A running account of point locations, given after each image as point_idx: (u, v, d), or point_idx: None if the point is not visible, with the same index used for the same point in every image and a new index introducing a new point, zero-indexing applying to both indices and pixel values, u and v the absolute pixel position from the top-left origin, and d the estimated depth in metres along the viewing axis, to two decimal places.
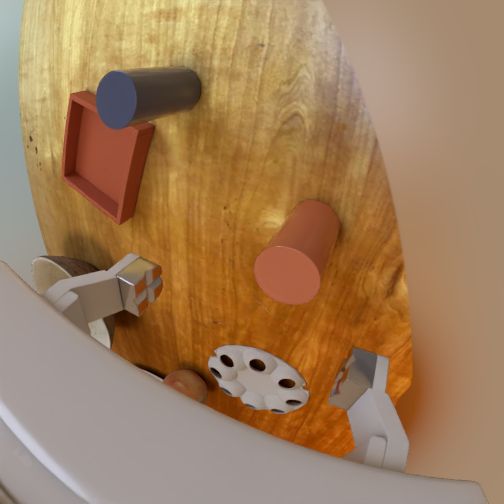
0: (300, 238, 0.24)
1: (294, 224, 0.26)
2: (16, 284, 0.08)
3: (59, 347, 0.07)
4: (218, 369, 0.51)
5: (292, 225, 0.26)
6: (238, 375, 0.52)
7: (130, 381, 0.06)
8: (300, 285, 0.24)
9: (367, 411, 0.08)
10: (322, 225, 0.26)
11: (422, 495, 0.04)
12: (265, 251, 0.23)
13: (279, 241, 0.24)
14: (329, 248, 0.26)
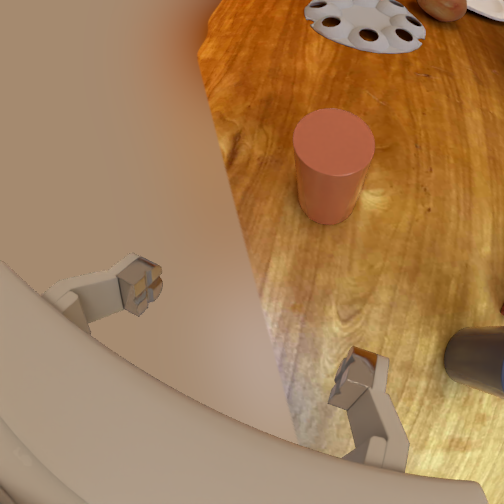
0: (324, 185, 0.20)
1: (339, 199, 0.22)
2: (16, 284, 0.08)
3: (59, 347, 0.07)
4: (411, 25, 0.30)
5: (339, 197, 0.21)
6: (388, 21, 0.32)
7: (130, 381, 0.07)
8: (316, 131, 0.19)
9: (367, 411, 0.08)
10: (309, 200, 0.24)
11: (422, 495, 0.04)
12: (361, 167, 0.18)
13: (347, 180, 0.19)
14: (297, 175, 0.23)
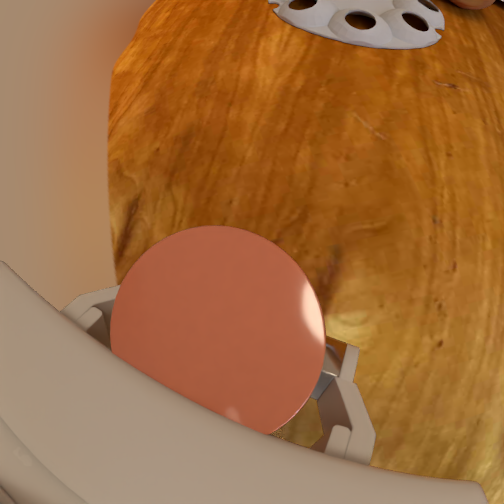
0: None
1: None
2: (16, 284, 0.08)
3: (59, 347, 0.07)
4: (425, 8, 0.18)
5: None
6: (391, 4, 0.21)
7: (130, 381, 0.07)
8: (162, 310, 0.07)
9: (334, 400, 0.08)
10: None
11: (422, 495, 0.04)
12: (268, 430, 0.06)
13: None
14: None
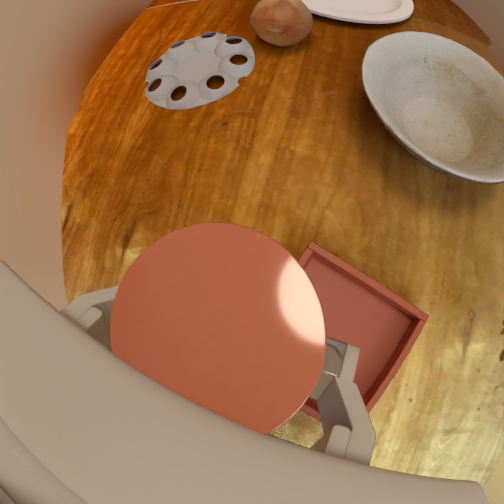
0: None
1: None
2: (16, 284, 0.08)
3: (59, 347, 0.07)
4: (232, 65, 0.40)
5: None
6: (217, 65, 0.42)
7: (130, 381, 0.07)
8: (162, 307, 0.07)
9: (334, 400, 0.08)
10: None
11: (422, 495, 0.04)
12: (269, 428, 0.06)
13: None
14: None
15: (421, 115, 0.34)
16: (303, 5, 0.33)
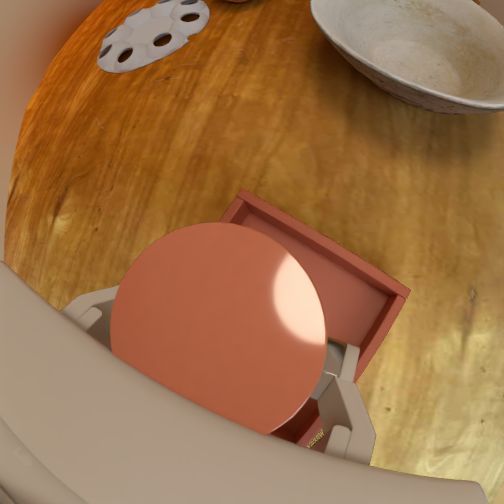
0: None
1: None
2: (16, 284, 0.08)
3: (59, 347, 0.07)
4: (182, 23, 0.32)
5: None
6: (169, 27, 0.35)
7: (130, 381, 0.07)
8: (162, 307, 0.07)
9: (334, 400, 0.08)
10: None
11: (422, 495, 0.04)
12: (269, 429, 0.06)
13: None
14: None
15: (396, 56, 0.26)
16: None
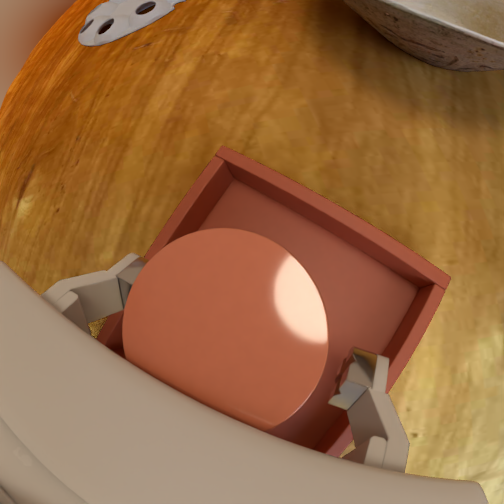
0: None
1: None
2: (16, 284, 0.08)
3: (59, 347, 0.07)
4: None
5: None
6: None
7: (130, 381, 0.07)
8: (173, 309, 0.08)
9: (367, 411, 0.08)
10: None
11: (422, 495, 0.04)
12: (275, 422, 0.07)
13: None
14: None
15: None
16: None
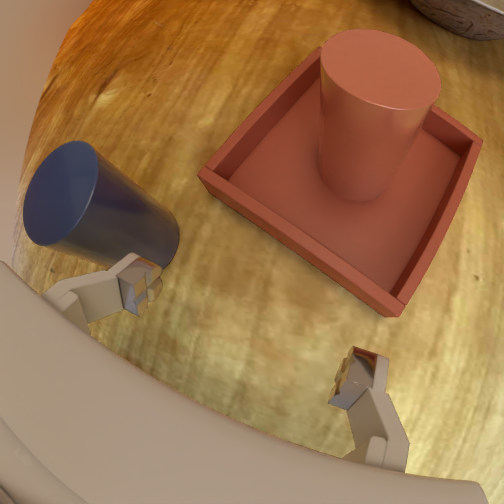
0: (367, 128, 0.11)
1: (382, 158, 0.13)
2: (16, 284, 0.08)
3: (59, 347, 0.07)
4: None
5: (384, 154, 0.13)
6: None
7: (130, 381, 0.07)
8: (356, 51, 0.10)
9: (367, 411, 0.08)
10: (337, 158, 0.15)
11: (422, 495, 0.04)
12: (426, 103, 0.09)
13: (403, 121, 0.10)
14: (321, 120, 0.14)
15: None
16: None
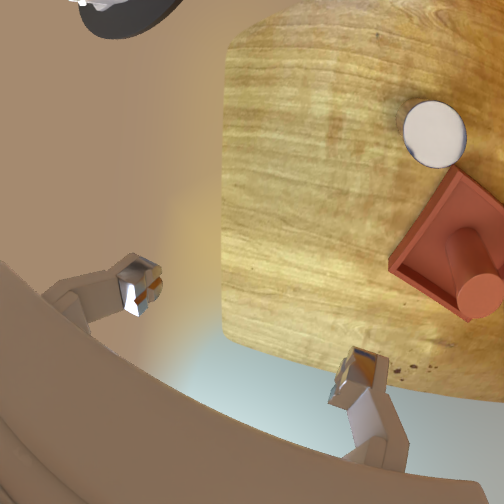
0: (457, 280, 0.25)
1: (452, 277, 0.27)
2: (16, 284, 0.08)
3: (59, 347, 0.07)
4: None
5: (452, 279, 0.27)
6: None
7: (130, 381, 0.07)
8: (489, 287, 0.22)
9: (367, 411, 0.08)
10: (457, 252, 0.27)
11: (422, 495, 0.04)
12: (460, 309, 0.24)
13: (456, 296, 0.25)
14: (473, 252, 0.25)
15: None
16: None
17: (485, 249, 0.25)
